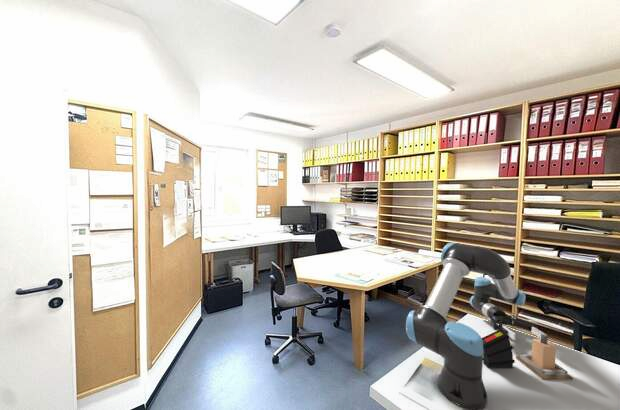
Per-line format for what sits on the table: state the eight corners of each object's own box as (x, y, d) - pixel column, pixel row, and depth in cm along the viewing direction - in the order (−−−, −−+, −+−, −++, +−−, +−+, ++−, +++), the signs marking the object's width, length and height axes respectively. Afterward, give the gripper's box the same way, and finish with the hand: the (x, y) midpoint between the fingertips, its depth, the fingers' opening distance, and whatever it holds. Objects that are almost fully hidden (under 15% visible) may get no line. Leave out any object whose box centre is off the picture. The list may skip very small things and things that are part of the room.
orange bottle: (542, 370, 97) (544, 339, 97) (531, 361, 102) (532, 332, 102) (554, 370, 97) (556, 339, 97) (542, 361, 102) (544, 332, 102)
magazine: (521, 365, 99) (508, 333, 98) (493, 378, 99) (479, 347, 98) (513, 358, 103) (500, 328, 102) (486, 371, 103) (473, 341, 102)
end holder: (541, 379, 94) (542, 373, 94) (515, 358, 106) (516, 352, 106) (572, 379, 94) (572, 373, 94) (543, 358, 106) (543, 353, 106)
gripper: (517, 320, 127) (558, 346, 106) (470, 320, 128) (501, 344, 106) (518, 307, 127) (559, 329, 106) (471, 306, 127) (502, 328, 106)
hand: (530, 337), depth 106 cm, fingers open, 13 cm apart
